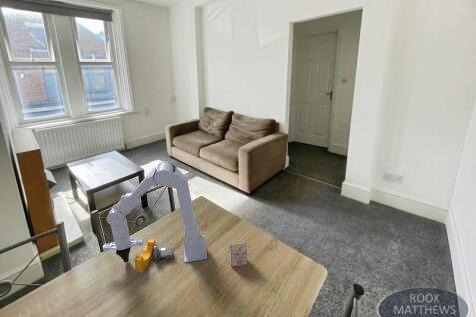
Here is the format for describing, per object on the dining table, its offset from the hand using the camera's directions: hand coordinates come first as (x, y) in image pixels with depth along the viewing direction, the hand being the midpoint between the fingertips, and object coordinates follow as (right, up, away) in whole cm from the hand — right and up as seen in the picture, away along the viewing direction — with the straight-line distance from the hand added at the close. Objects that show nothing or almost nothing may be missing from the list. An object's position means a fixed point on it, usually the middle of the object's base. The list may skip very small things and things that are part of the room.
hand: (126, 260), depth 100 cm
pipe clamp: (+7, -1, +2) cm, 7 cm away
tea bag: (+47, -1, +1) cm, 47 cm away
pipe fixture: (+15, 0, +4) cm, 15 cm away
